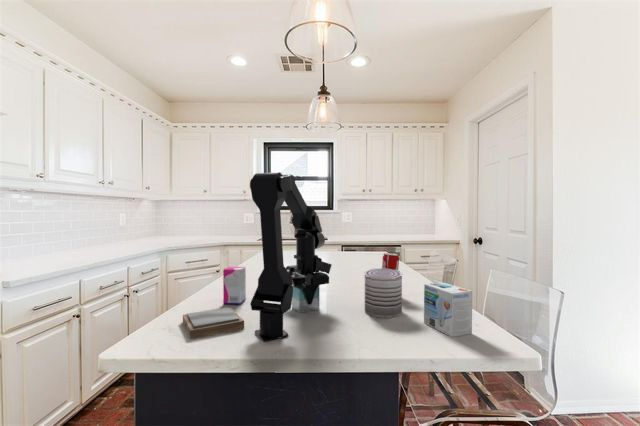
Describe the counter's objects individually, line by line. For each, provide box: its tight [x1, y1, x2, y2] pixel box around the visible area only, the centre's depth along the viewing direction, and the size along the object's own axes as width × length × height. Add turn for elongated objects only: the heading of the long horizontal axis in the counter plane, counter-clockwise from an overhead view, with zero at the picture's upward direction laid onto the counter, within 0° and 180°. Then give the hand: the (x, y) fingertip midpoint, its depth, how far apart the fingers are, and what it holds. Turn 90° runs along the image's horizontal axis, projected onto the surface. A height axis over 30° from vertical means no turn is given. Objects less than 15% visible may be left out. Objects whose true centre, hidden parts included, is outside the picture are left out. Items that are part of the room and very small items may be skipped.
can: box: [363, 267, 404, 318], centre depth 97 cm, size 11×11×12 cm
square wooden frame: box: [182, 306, 245, 340], centre depth 85 cm, size 13×13×2 cm
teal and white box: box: [291, 285, 320, 314], centre depth 99 cm, size 7×5×7 cm
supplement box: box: [222, 266, 247, 306], centre depth 106 cm, size 6×6×12 cm
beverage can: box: [381, 252, 400, 271], centre depth 114 cm, size 6×6×15 cm
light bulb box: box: [423, 281, 473, 338], centre depth 83 cm, size 11×7×11 cm, turn 21°
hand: (305, 302), depth 99 cm, fingers closed on teal and white box, 5 cm apart
